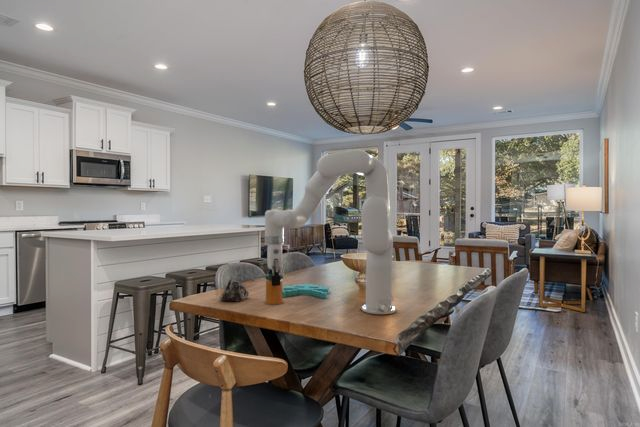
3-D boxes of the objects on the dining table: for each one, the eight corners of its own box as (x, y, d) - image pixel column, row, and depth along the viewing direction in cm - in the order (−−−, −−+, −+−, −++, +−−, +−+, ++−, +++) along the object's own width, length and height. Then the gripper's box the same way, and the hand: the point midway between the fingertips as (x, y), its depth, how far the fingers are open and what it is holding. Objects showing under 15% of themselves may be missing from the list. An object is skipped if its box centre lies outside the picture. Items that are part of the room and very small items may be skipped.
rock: (239, 308, 161) (252, 285, 166) (218, 296, 161) (231, 274, 166) (238, 313, 173) (250, 292, 177) (218, 302, 173) (230, 282, 177)
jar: (283, 303, 163) (284, 277, 163) (267, 304, 161) (267, 278, 161) (280, 300, 169) (280, 275, 169) (264, 301, 167) (264, 275, 167)
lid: (264, 280, 161) (264, 275, 161) (266, 277, 168) (266, 273, 168) (282, 280, 161) (282, 276, 161) (283, 277, 168) (283, 273, 168)
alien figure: (326, 298, 173) (329, 289, 193) (326, 293, 173) (330, 284, 193) (279, 297, 175) (287, 288, 195) (279, 291, 175) (288, 283, 195)
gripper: (287, 242, 157) (287, 287, 157) (279, 239, 174) (279, 279, 174) (267, 242, 155) (267, 287, 155) (262, 239, 172) (261, 280, 172)
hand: (273, 283), depth 165 cm, fingers open, 9 cm apart
